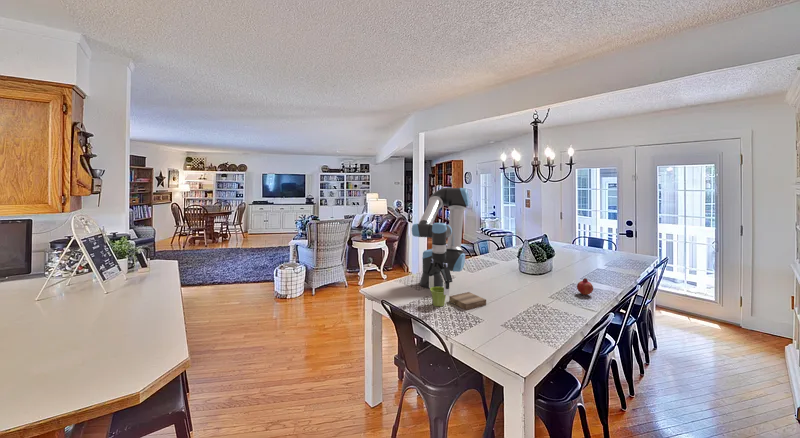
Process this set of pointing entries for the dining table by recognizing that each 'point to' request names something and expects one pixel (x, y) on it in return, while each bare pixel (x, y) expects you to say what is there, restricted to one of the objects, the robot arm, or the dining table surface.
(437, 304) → the plant pot
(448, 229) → the robot arm
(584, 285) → the fruit
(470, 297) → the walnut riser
